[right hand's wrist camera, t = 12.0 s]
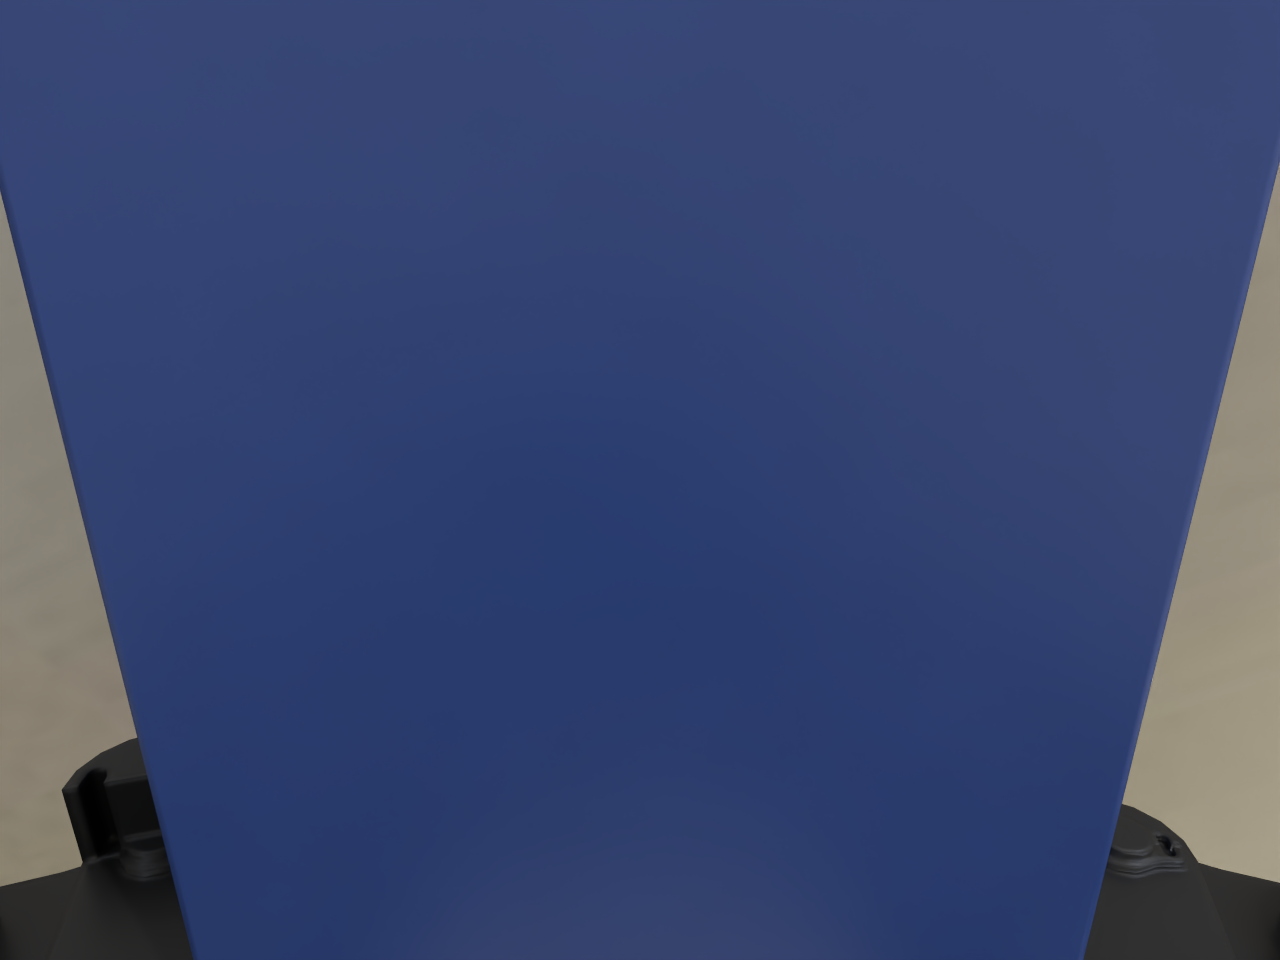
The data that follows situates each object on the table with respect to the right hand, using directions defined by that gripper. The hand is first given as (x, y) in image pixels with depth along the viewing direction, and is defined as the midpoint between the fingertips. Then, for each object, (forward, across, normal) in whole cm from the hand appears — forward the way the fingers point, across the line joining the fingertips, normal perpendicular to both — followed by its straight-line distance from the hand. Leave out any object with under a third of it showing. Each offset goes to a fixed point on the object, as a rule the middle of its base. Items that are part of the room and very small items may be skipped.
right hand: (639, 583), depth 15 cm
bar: (+1, 0, -7) cm, 7 cm away
